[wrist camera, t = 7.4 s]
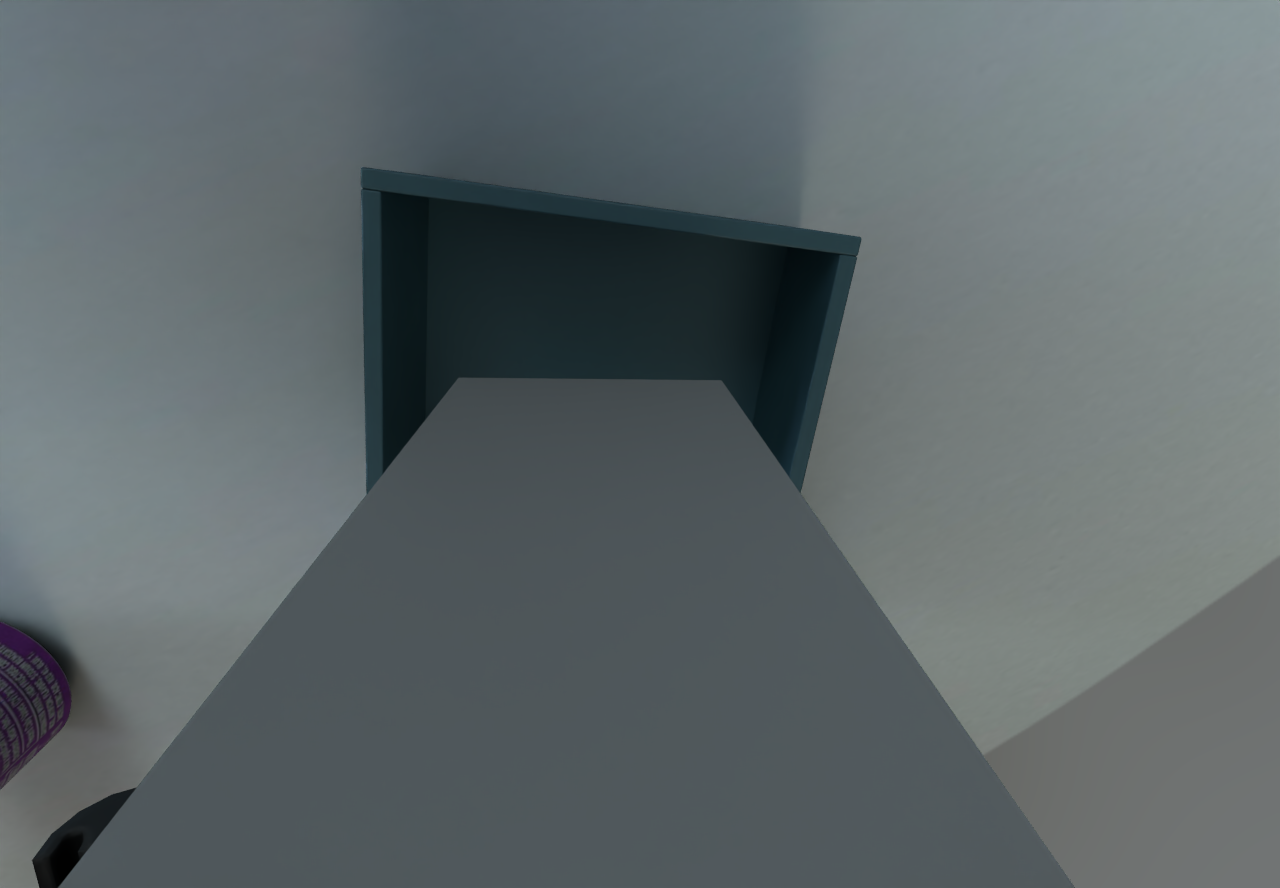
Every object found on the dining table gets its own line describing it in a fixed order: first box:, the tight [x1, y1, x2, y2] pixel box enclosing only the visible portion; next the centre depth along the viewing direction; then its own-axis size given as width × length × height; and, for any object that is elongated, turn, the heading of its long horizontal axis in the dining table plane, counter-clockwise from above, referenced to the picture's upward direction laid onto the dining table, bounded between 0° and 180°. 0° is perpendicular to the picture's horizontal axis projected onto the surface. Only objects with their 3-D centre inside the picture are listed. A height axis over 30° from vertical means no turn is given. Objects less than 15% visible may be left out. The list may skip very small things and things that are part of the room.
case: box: [361, 167, 861, 494], centre depth 22 cm, size 15×13×6 cm
